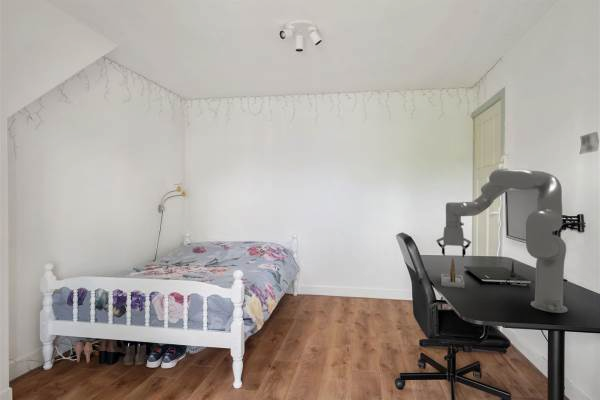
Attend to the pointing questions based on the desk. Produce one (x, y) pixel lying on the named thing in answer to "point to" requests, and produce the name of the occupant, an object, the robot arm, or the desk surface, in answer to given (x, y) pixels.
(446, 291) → the desk surface
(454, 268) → the ammunition clip
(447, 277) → the tray
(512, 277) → the eiffel tower figurine
